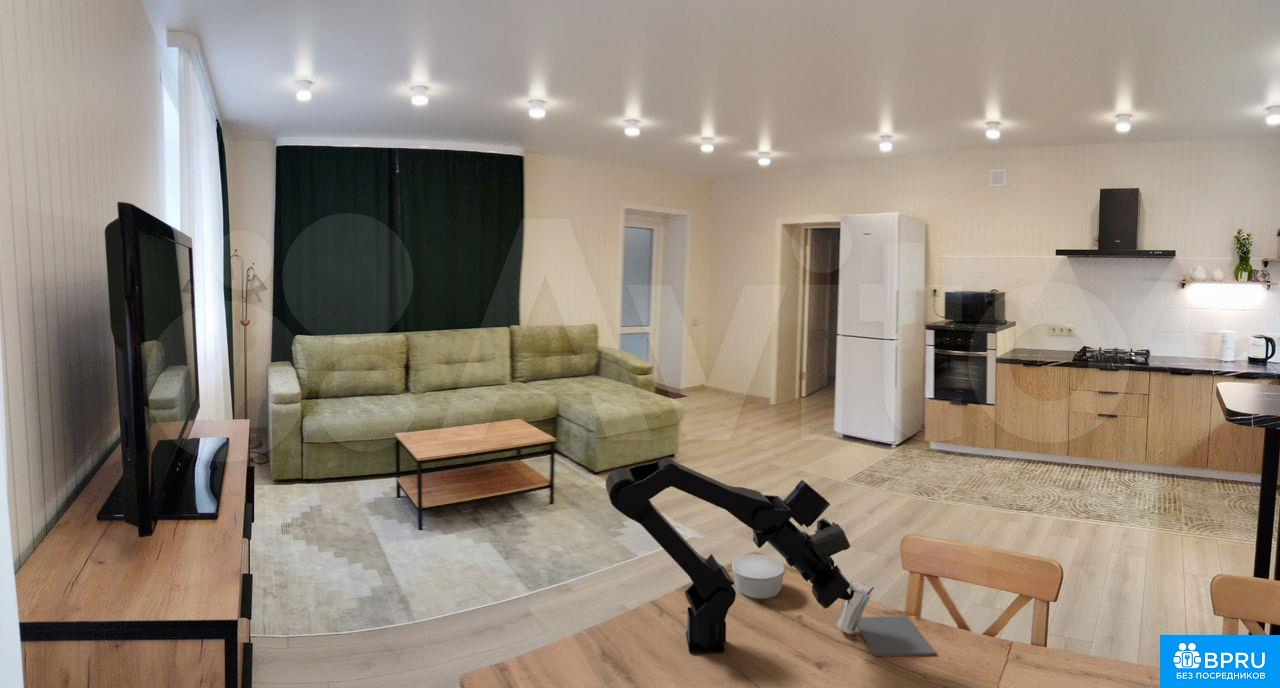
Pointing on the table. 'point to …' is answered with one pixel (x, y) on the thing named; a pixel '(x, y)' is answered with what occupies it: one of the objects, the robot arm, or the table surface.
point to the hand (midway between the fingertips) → (848, 597)
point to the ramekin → (758, 576)
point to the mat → (893, 636)
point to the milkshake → (853, 607)
